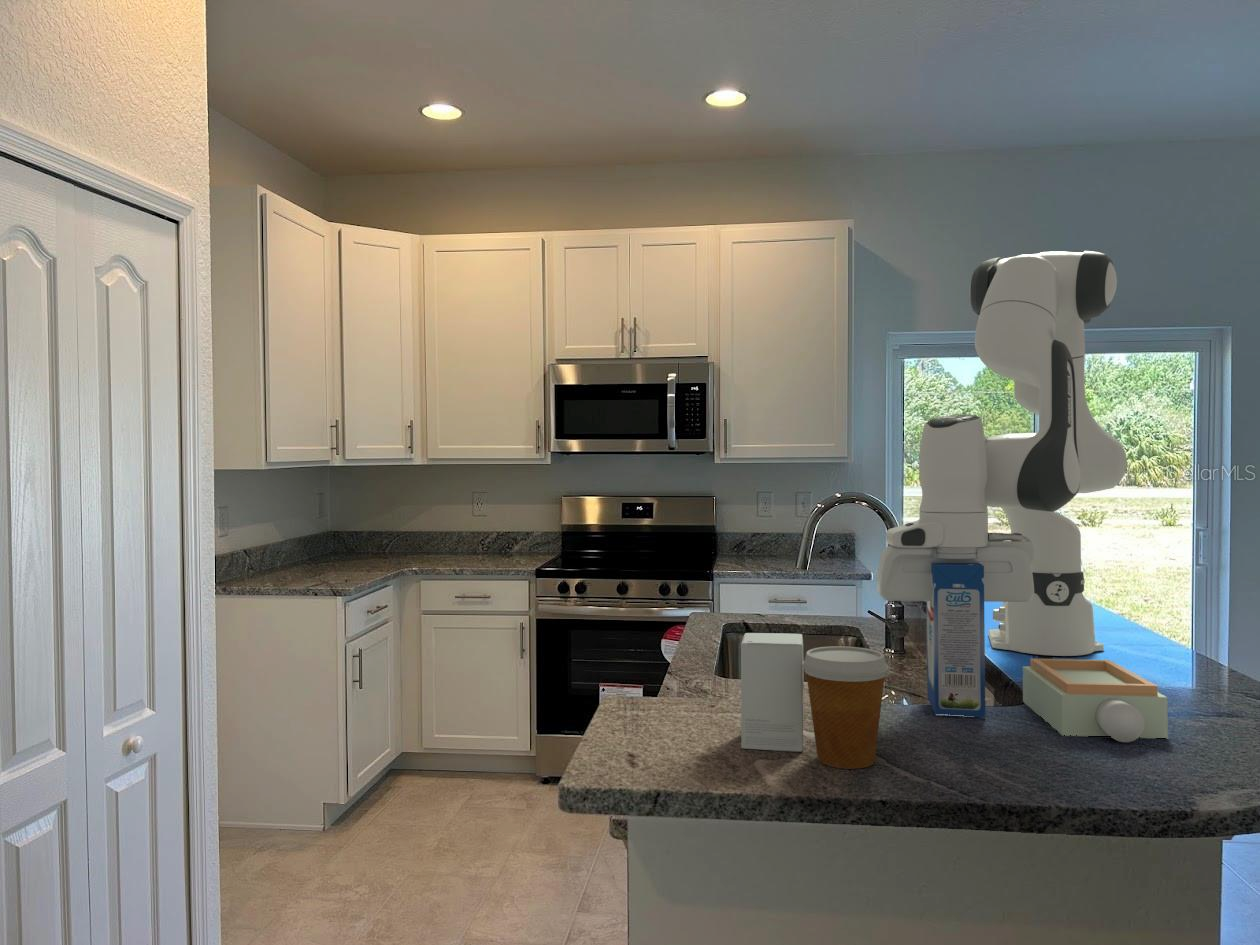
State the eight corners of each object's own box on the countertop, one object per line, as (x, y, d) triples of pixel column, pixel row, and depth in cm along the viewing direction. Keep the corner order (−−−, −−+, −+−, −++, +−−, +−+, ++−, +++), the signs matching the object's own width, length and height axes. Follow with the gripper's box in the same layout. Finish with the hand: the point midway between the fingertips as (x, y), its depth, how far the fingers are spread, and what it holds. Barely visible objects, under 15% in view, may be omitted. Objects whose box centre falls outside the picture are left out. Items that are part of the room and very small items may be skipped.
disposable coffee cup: (786, 761, 100) (785, 654, 100) (830, 741, 107) (829, 642, 107) (864, 780, 94) (862, 667, 94) (904, 758, 101) (903, 652, 101)
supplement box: (804, 753, 103) (803, 644, 103) (739, 749, 105) (738, 642, 105) (804, 734, 110) (803, 632, 110) (744, 731, 112) (743, 631, 112)
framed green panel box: (1023, 701, 124) (1022, 657, 124) (1114, 704, 123) (1113, 659, 123) (1070, 743, 106) (1070, 691, 106) (1179, 746, 104) (1179, 693, 104)
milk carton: (927, 697, 127) (925, 557, 127) (973, 699, 126) (971, 558, 126) (935, 716, 118) (934, 565, 118) (985, 718, 116) (984, 565, 116)
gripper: (1026, 531, 123) (1027, 630, 124) (874, 531, 126) (875, 628, 126) (1040, 534, 117) (1041, 639, 117) (881, 534, 120) (882, 636, 120)
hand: (954, 633), depth 122 cm, fingers closed on milk carton
